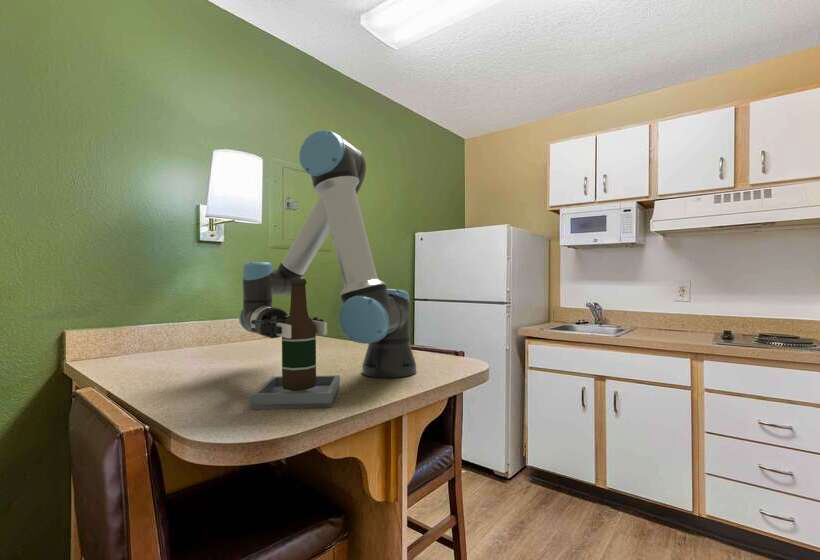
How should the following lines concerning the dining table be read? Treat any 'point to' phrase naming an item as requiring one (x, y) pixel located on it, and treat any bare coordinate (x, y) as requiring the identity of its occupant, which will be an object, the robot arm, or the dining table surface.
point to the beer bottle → (299, 343)
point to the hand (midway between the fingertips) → (308, 330)
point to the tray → (296, 394)
